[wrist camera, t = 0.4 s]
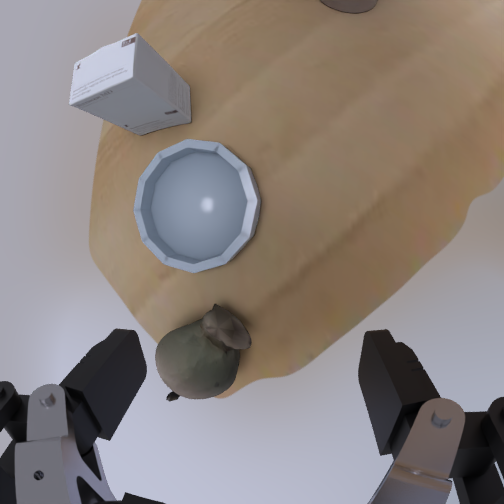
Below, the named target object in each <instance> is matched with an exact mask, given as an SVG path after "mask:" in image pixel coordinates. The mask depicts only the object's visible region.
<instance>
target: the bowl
mask: <svg viewBox="0 0 504 504" xmlns="http://www.w3.org/2000/svg"><path fill="white" fill-rule="evenodd" d="M260 205H261V199H260V195H259V190H258V186H257V183H256V181H255V178H254V176H253V174H252V171H251V168H250V167H248V166H247V165H246V164H245V163H244V162H243V161H242V160H241V159H239V158H238V157H237V156H236V155H234V154H233V153H232V152H231V151H230V150H229V149H227V148H226V147H225V146H223V145H222V144H220V143H217V142H209V141H201V140H192V139H186V140H184V141H182V142H179V143H177V144H175V145H173V146H171V147H169V148H167V149H164V150H162V151H160V152H158V153H157V155H156V156H155V157H154V159H153V160H152V161H151V163H150V164H149V166H148V167H147V168H146V170H145V171H144V172H143V174H142V175H141V177H140V178H139V182H138V187H137V192H136V198H135V204H134V210H133V211H134V214H135V218H136V222H137V225H138V229H139V232H140V235H141V239H142V242H143V243H144V244H145V245H146V246H147V247H148V248H149V249H150V250H151V251H152V252H153V253H154V255H155V256H156V257H157V258H158V259H159V260H160V261H161V262H162V263H163V264H165V265H168V266H171V267H175V268H178V269H182V270H185V271H188V272H192V273H196V272H199V271H203V270H206V269H210V268H213V267H217V266H220V265H224V264H226V263H228V262H229V261H231V260H232V259H233V258H234V257H235V256H236V255H237V254H238V252H240V251H241V250H242V249H243V248H244V247H245V245H246V244H247V243H248V242H249V240H250V239H251V238H252V237H253V236H254V233H255V229H256V226H257V223H258V219H259V214H260Z"/></svg>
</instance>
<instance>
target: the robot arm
mask: <svg viewBox="0 0 504 504" xmlns="http://www.w3.org/2000/svg"><path fill="white" fill-rule="evenodd" d="M320 1H322V2H323V3H324V4H325V5H327V6H329V7H331V8H334V9H336V10H339V11H343V12H350V13H360V12H365V11H368V10H370V9H372V8H373V7H374V6H375V5H376V2H377V0H320ZM146 373H147V366H146V362H145V358H144V356H143V352H142V348H141V345H140V341H139V337H138V335H137V333H136V331H134V330H126V329H115V330H113V332H111V334H110V335H109V336H108V337H107V338H106V339H105V340H103V341H101V342H100V343H98V344H96V345H95V346H93V347H92V348H91V349H90V350H89V352H88V353H87V354H86V356H84V357H83V358H82V359H81V361H80V363H78V364H77V365H76V366H75V367H74V368H73V370H72V371H71V372H70V373H69V374H68V375H67V376H66V377H65V379H64V380H63V381H62V382H61V383H60V384H59V385H56V384H47V385H43V386H41V387H39V388H37V389H36V390H35V391H33V393H32V394H31V395H18V393H17V391H16V389H15V388H14V386H13V384H12V383H10V382H8V381H2V382H0V432H1V431H2V429H3V428H5V430H6V431H7V432H8V434H9V435H10V436H11V438H12V439H13V440H12V441H11V443H10V444H9V446H8V447H7V449H6V450H5V452H4V453H3V455H2V456H1V458H0V504H165V503H162V502H158V501H154V500H150V499H146V498H143V497H139V496H136V495H132V494H129V493H126V492H125V495H124V497H123V499H122V501H117V500H116V499H115V497H114V495H113V494H112V492H111V490H110V488H109V486H108V483H107V480H106V477H105V474H104V470H103V467H102V463H101V459H100V456H99V452H98V448H97V445H96V444H95V440H96V438H97V437H99V438H102V439H106V440H109V441H110V440H111V438H112V436H113V434H114V432H115V431H116V429H117V427H118V425H119V424H120V422H121V420H122V418H123V416H124V415H125V413H126V411H127V409H128V408H129V406H130V404H131V403H132V401H133V399H134V397H135V396H136V393H137V392H138V390H139V388H140V387H141V385H142V383H143V382H144V380H145V377H146ZM358 377H359V384H360V387H361V390H362V393H363V397H364V400H365V403H366V407H367V410H368V413H369V417H370V420H371V424H372V427H373V431H374V434H375V438H376V442H377V445H378V449H379V453H380V455H387V454H391V453H392V455H393V459H394V461H393V463H392V465H391V466H390V468H389V470H388V472H387V474H386V475H385V477H384V479H383V480H382V482H381V484H380V485H379V487H378V489H377V490H376V492H375V493H374V495H373V496H372V498H371V499H370V501H369V502H368V504H445V503H446V501H447V499H448V496H449V493H450V491H451V487H452V481H451V480H448V478H453V481H454V484H455V488H456V491H457V495H458V498H459V502H460V504H504V487H503V484H502V481H501V479H500V476H499V474H498V471H497V468H496V466H495V464H494V463H495V462H496V461H497V464H498V466H499V469H500V471H501V473H502V476H503V479H504V397H500V398H498V399H496V400H494V401H493V402H492V404H491V405H490V407H489V409H488V411H487V412H486V411H485V412H464V411H463V409H462V408H461V406H460V405H458V404H457V403H456V402H454V401H452V400H449V399H445V398H441V397H440V395H439V393H438V392H437V390H436V388H435V386H434V385H433V383H432V381H431V379H430V378H429V376H428V374H427V373H426V371H425V370H423V366H422V364H421V363H420V362H419V361H418V358H417V356H416V355H415V353H414V352H413V350H412V349H410V348H409V347H408V346H407V345H405V344H404V343H402V342H397V343H396V342H395V341H394V339H393V337H392V335H391V334H390V332H389V331H388V330H387V329H385V330H376V331H375V330H374V331H367V332H366V333H365V335H364V340H363V346H362V352H361V358H360V363H359V370H358Z"/></svg>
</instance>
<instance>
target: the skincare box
mask: <svg viewBox="0 0 504 504" xmlns="http://www.w3.org/2000/svg"><path fill="white" fill-rule="evenodd" d="M69 105H71V106H74V107H77V108H79V109H81V110H83V111H86V112H88V113H90V114H93V115H95V116H97V117H100V118H102V119H104V120H106V121H109V122H111V123H113V124H115V125H118V126H120V127H122V128H124V129H127V130H129V131H131V132H133V133H135V134H137V135H144V134H147V133H149V132H153V131H156V130H159V129H163V128H167V127H171V126H176V125H181V124H187V123H190V122H191V104H190V86H189V85H188V84H187V83H186V82H185V81H184V80H183V79H182V78H181V77H180V76H179V75H178V74H177V72H176V71H175V70H174V69H173V68H172V67H171V66H170V65H169V64H168V63H167V62H166V61H165V60H164V59H163V58H162V57H161V56H160V55H159V54H158V53H157V52H156V51H155V50H154V49H153V48H152V47H151V46H150V45H149V44H148V43H147V42H146V41H145V40H144V39H143V38H142V37H141V36H140V35H139V34H138V33H136V34H134V35H131V36H129V37H127V38H125V39H122V40H120V41H118V42H116V43H113V44H110V45H106V46H103V47H102V48H100V49H98V50H97V51H96V52H95V53H93V54H91V55H89V56H87V57H85V58H83V59H81V60H80V61H77V62H76V63H75V66H74V73H73V80H72V87H71V93H70V101H69Z"/></svg>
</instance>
